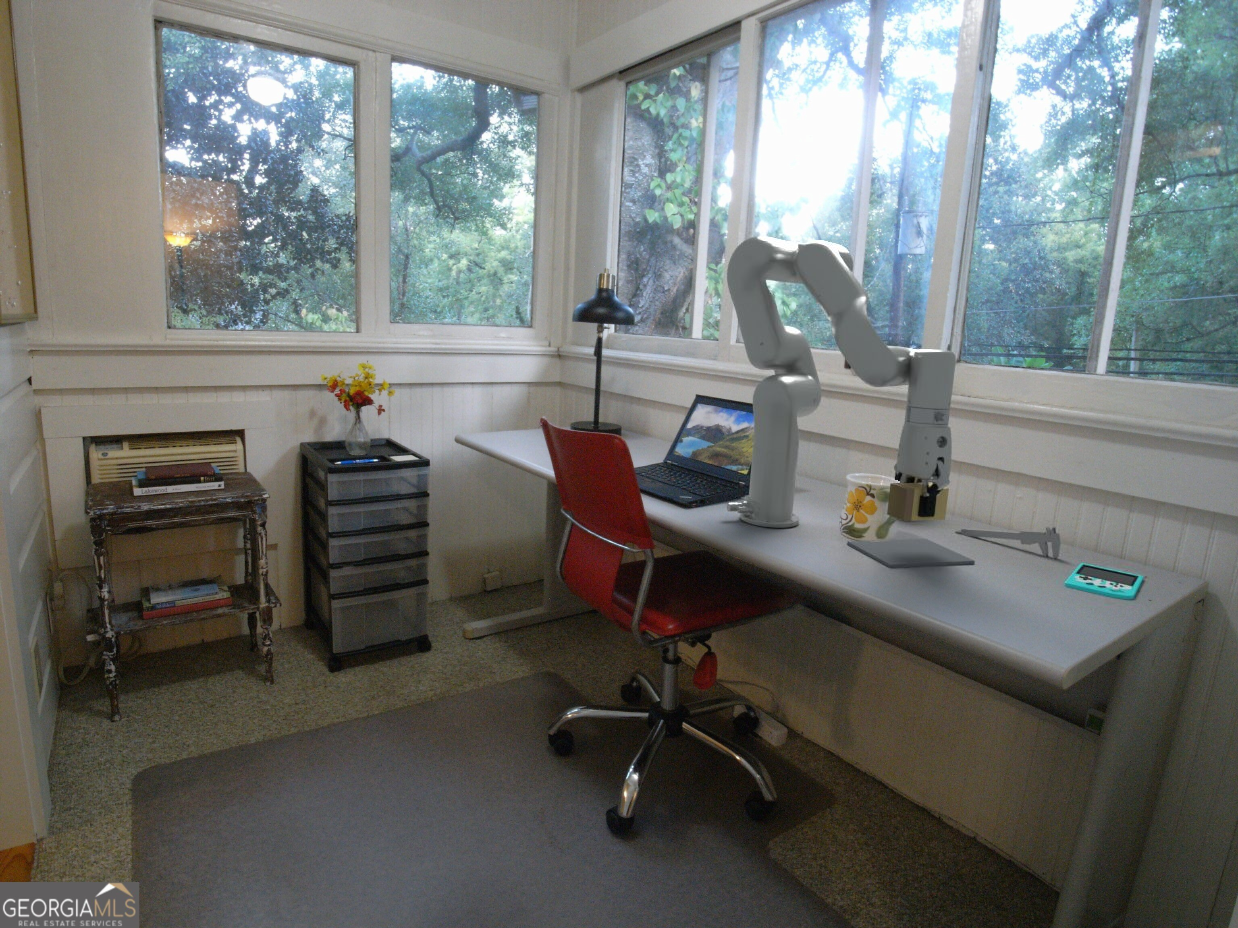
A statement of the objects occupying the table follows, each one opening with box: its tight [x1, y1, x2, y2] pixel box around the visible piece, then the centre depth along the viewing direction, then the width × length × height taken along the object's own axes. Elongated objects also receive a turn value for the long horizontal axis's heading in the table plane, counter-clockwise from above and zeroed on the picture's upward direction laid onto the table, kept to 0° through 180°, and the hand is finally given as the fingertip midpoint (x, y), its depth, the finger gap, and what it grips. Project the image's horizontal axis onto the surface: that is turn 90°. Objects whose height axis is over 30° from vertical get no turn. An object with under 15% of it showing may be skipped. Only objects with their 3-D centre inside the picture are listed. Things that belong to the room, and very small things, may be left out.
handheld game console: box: [1063, 562, 1144, 600], centre depth 131 cm, size 10×16×1 cm, turn 139°
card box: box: [886, 482, 950, 522], centre depth 140 cm, size 5×9×6 cm, turn 105°
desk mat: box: [846, 538, 976, 569], centre depth 142 cm, size 18×14×1 cm
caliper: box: [955, 526, 1061, 560], centre depth 151 cm, size 20×1×6 cm, turn 37°
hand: (916, 511), depth 140 cm, fingers closed on card box, 4 cm apart
